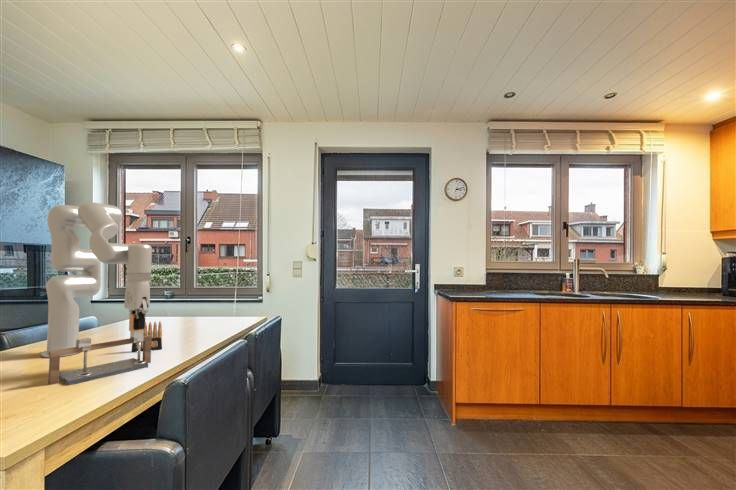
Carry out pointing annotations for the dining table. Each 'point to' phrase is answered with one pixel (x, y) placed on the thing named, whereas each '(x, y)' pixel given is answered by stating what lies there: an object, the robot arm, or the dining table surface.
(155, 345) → the ammunition clip
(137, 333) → the sliding leg
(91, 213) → the robot arm
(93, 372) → the bolt plate
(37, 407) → the dining table surface
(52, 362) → the divider frame
